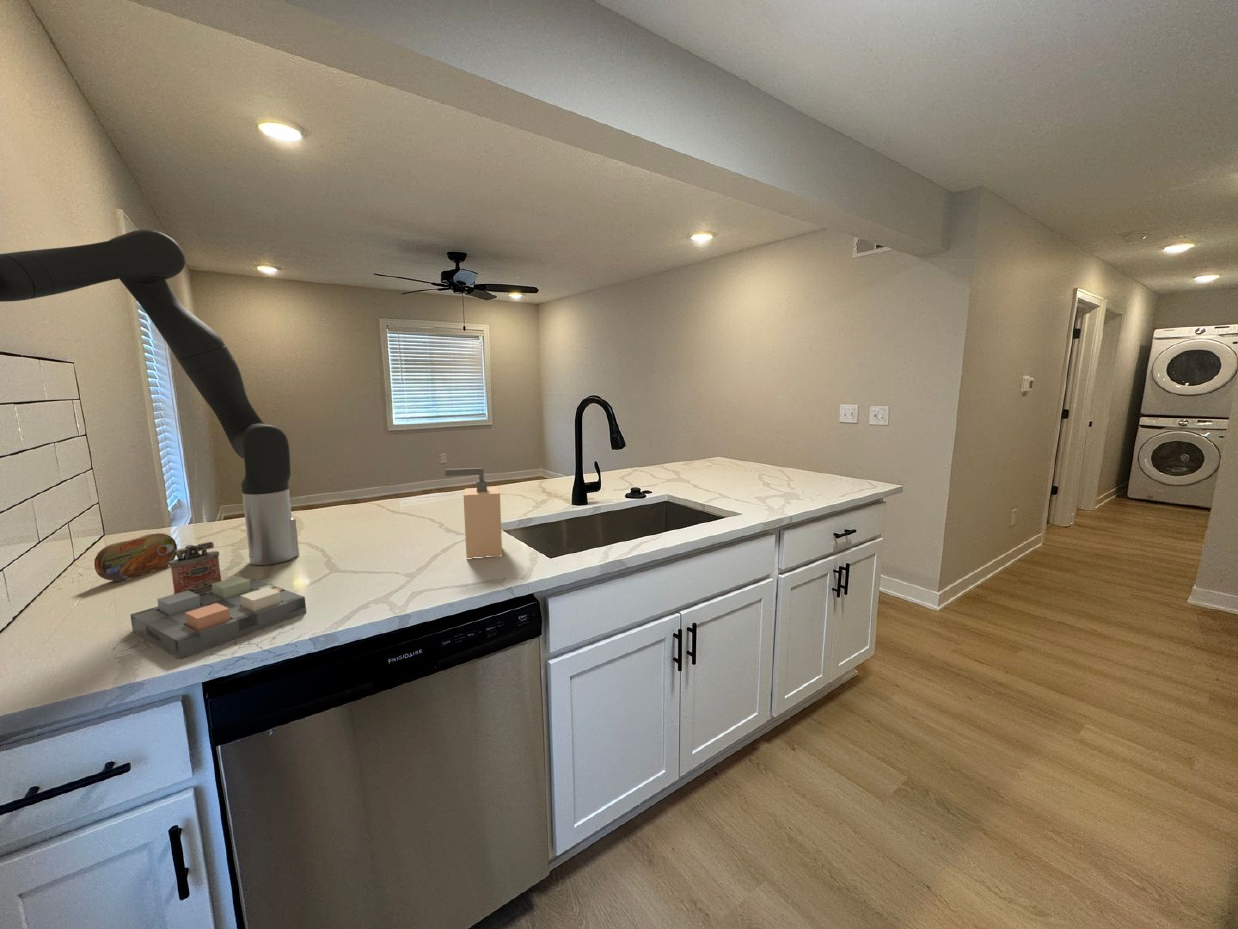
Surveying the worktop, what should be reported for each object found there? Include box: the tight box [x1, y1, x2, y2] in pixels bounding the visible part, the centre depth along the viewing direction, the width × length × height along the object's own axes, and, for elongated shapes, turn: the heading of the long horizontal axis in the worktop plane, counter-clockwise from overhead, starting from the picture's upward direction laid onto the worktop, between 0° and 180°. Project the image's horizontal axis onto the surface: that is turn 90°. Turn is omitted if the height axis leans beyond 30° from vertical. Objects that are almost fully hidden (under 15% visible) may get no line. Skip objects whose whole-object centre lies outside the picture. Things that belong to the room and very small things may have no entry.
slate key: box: [156, 590, 201, 616], centre depth 89 cm, size 4×4×2 cm
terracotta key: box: [185, 603, 230, 631], centre depth 83 cm, size 4×4×2 cm
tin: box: [93, 532, 178, 582], centre depth 113 cm, size 15×3×8 cm, turn 168°
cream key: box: [241, 587, 281, 612], centre depth 90 cm, size 4×4×2 cm
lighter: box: [168, 541, 222, 595], centre depth 103 cm, size 8×3×10 cm, turn 148°
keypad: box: [130, 578, 307, 660], centre depth 90 cm, size 19×19×3 cm
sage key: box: [212, 576, 251, 599], centre depth 96 cm, size 4×4×2 cm
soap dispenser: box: [444, 467, 503, 558], centre depth 126 cm, size 13×9×22 cm
